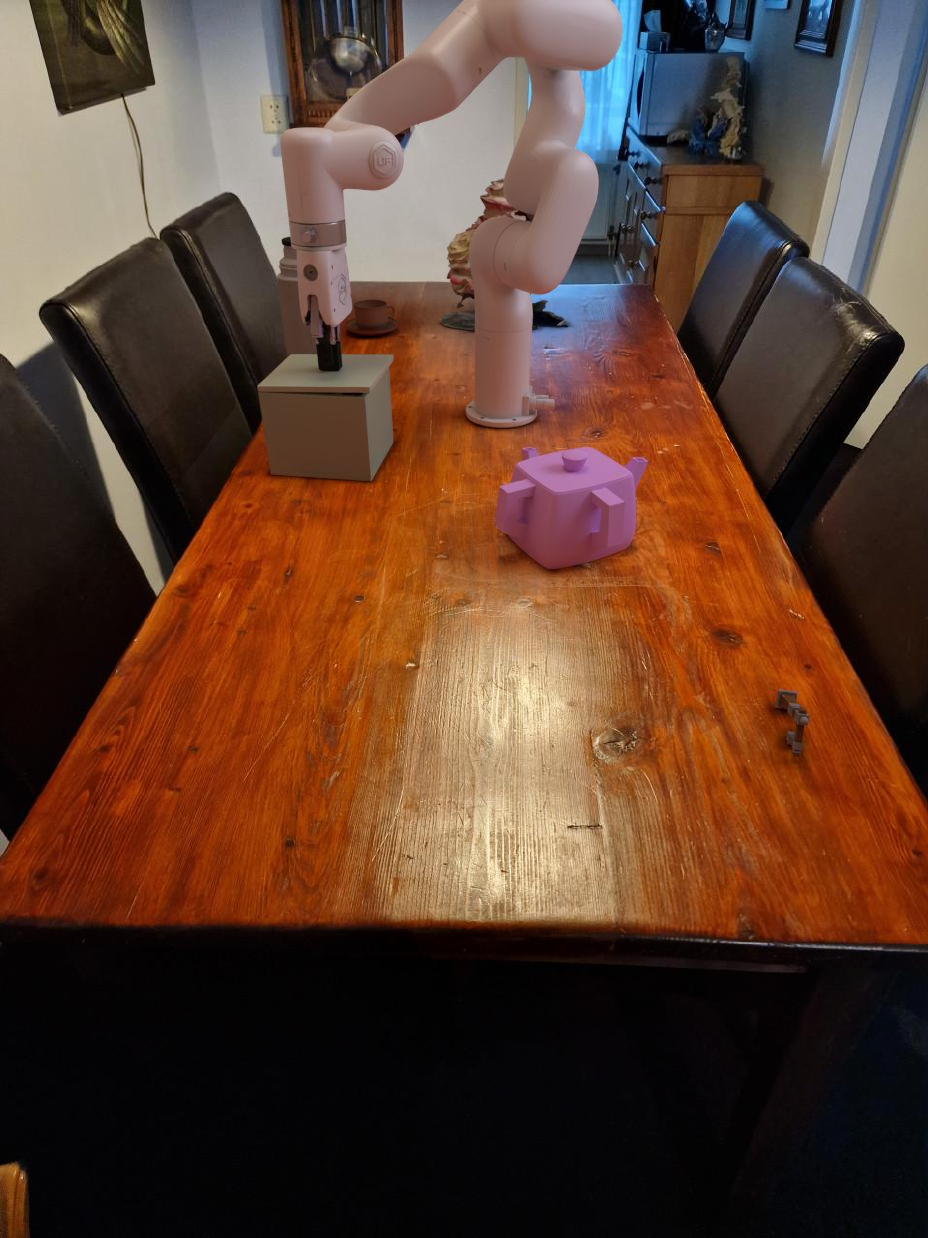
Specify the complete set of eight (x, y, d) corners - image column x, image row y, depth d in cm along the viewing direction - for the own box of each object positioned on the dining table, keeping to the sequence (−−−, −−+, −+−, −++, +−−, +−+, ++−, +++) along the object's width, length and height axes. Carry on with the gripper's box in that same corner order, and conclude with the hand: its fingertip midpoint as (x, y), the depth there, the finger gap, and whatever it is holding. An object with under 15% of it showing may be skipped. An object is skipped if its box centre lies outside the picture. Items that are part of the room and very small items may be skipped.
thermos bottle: (343, 398, 151) (328, 233, 135) (329, 414, 144) (311, 243, 128) (302, 395, 152) (283, 231, 136) (286, 411, 146) (264, 241, 129)
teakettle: (489, 563, 103) (491, 473, 96) (520, 503, 116) (523, 420, 109) (624, 583, 99) (636, 491, 92) (640, 519, 112) (652, 434, 105)
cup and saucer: (369, 321, 192) (368, 294, 189) (409, 329, 187) (408, 301, 183) (334, 333, 184) (332, 305, 181) (374, 342, 179) (373, 313, 175)
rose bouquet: (492, 300, 207) (494, 166, 190) (579, 324, 190) (590, 178, 173) (414, 319, 193) (409, 177, 176) (501, 347, 176) (505, 191, 158)
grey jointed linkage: (787, 759, 73) (795, 711, 73) (771, 731, 81) (778, 687, 80) (809, 762, 73) (817, 714, 72) (790, 733, 81) (797, 689, 80)
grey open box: (393, 442, 134) (389, 364, 127) (371, 481, 122) (365, 397, 115) (301, 436, 136) (291, 359, 129) (270, 474, 124) (257, 392, 117)
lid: (393, 359, 126) (393, 354, 126) (370, 392, 114) (369, 386, 114) (291, 359, 129) (290, 353, 128) (258, 391, 117) (256, 385, 116)
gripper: (329, 246, 104) (341, 387, 114) (359, 225, 116) (368, 355, 126) (272, 244, 105) (289, 384, 115) (308, 223, 117) (321, 352, 127)
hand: (330, 368), depth 121 cm, fingers closed
